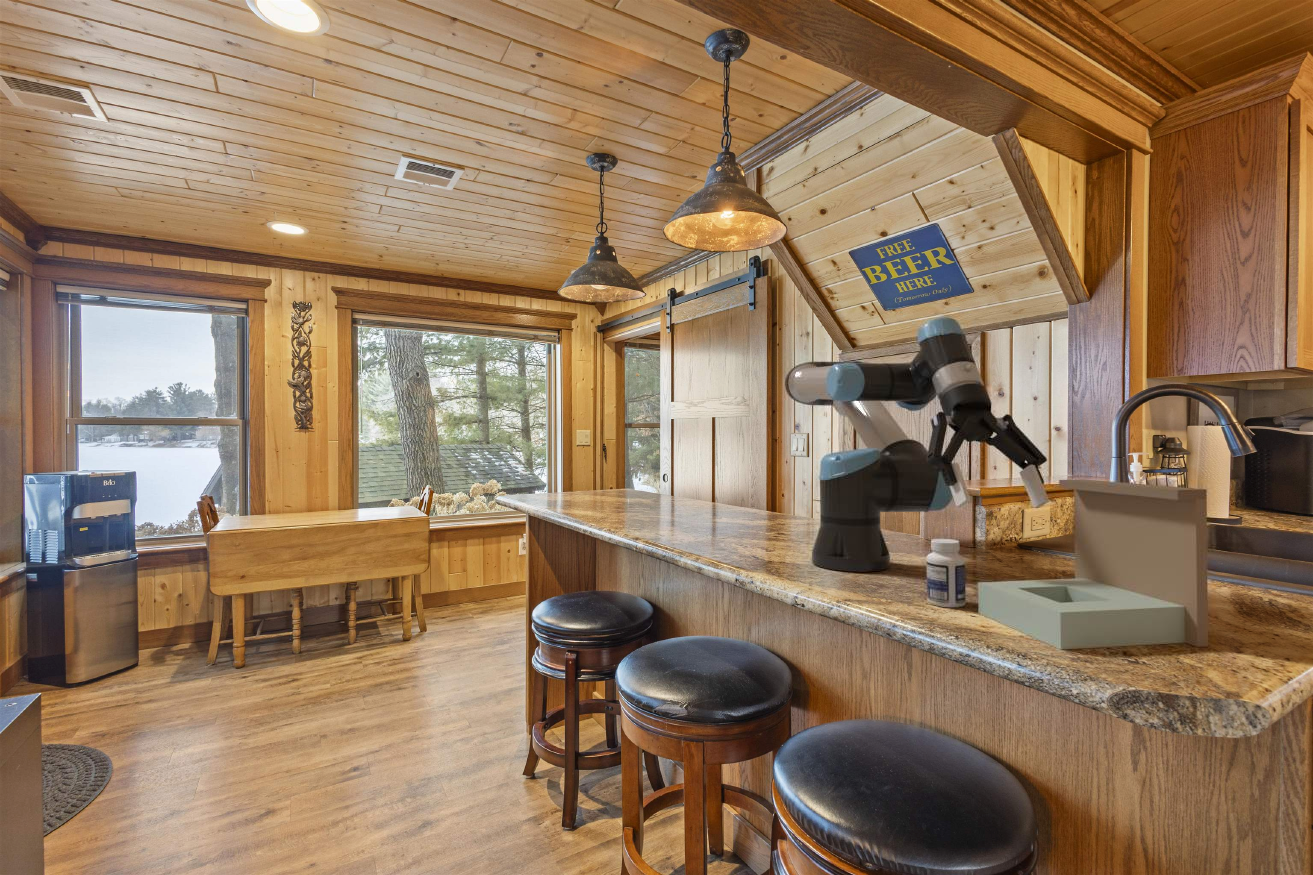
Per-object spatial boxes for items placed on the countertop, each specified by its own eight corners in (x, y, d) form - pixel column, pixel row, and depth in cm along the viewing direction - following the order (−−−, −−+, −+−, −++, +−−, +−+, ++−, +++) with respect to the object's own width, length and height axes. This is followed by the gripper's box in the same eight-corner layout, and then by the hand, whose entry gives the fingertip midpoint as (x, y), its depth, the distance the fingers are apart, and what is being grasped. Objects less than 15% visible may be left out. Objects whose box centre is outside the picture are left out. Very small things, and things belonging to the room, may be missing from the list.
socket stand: (971, 610, 88) (970, 481, 88) (1084, 604, 90) (1082, 479, 90) (1070, 654, 70) (1069, 492, 70) (1208, 646, 72) (1206, 489, 72)
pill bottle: (957, 598, 94) (956, 537, 94) (971, 608, 88) (971, 543, 88) (921, 598, 94) (921, 537, 94) (934, 607, 89) (933, 543, 89)
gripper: (906, 377, 99) (943, 492, 88) (1039, 384, 102) (1091, 495, 91) (885, 402, 105) (917, 512, 94) (1011, 407, 109) (1056, 514, 98)
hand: (1003, 504), depth 93 cm, fingers open, 13 cm apart
